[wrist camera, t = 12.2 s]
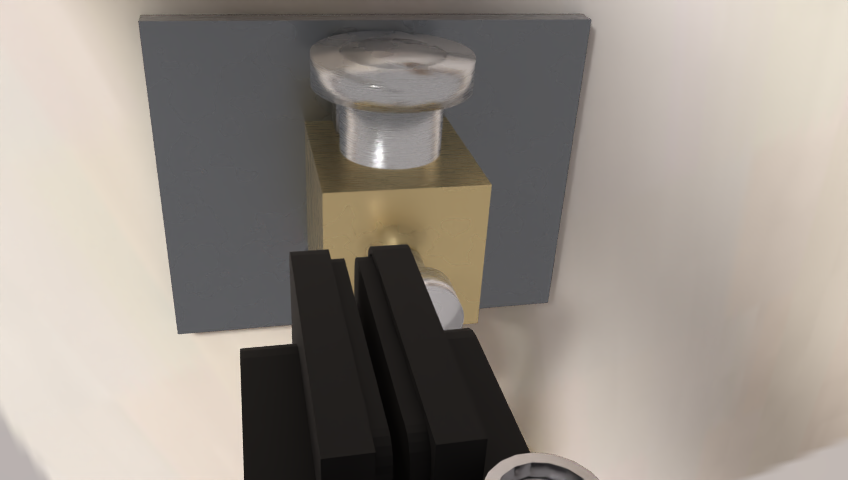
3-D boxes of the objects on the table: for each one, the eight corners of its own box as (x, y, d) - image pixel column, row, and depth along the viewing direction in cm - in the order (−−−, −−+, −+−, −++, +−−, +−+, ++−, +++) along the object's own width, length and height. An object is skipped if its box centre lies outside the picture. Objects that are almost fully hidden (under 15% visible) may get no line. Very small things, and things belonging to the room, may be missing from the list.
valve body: (178, 322, 49) (166, 474, 38) (140, 15, 40) (110, 101, 29) (541, 292, 54) (621, 419, 43) (582, 14, 45) (697, 86, 34)
